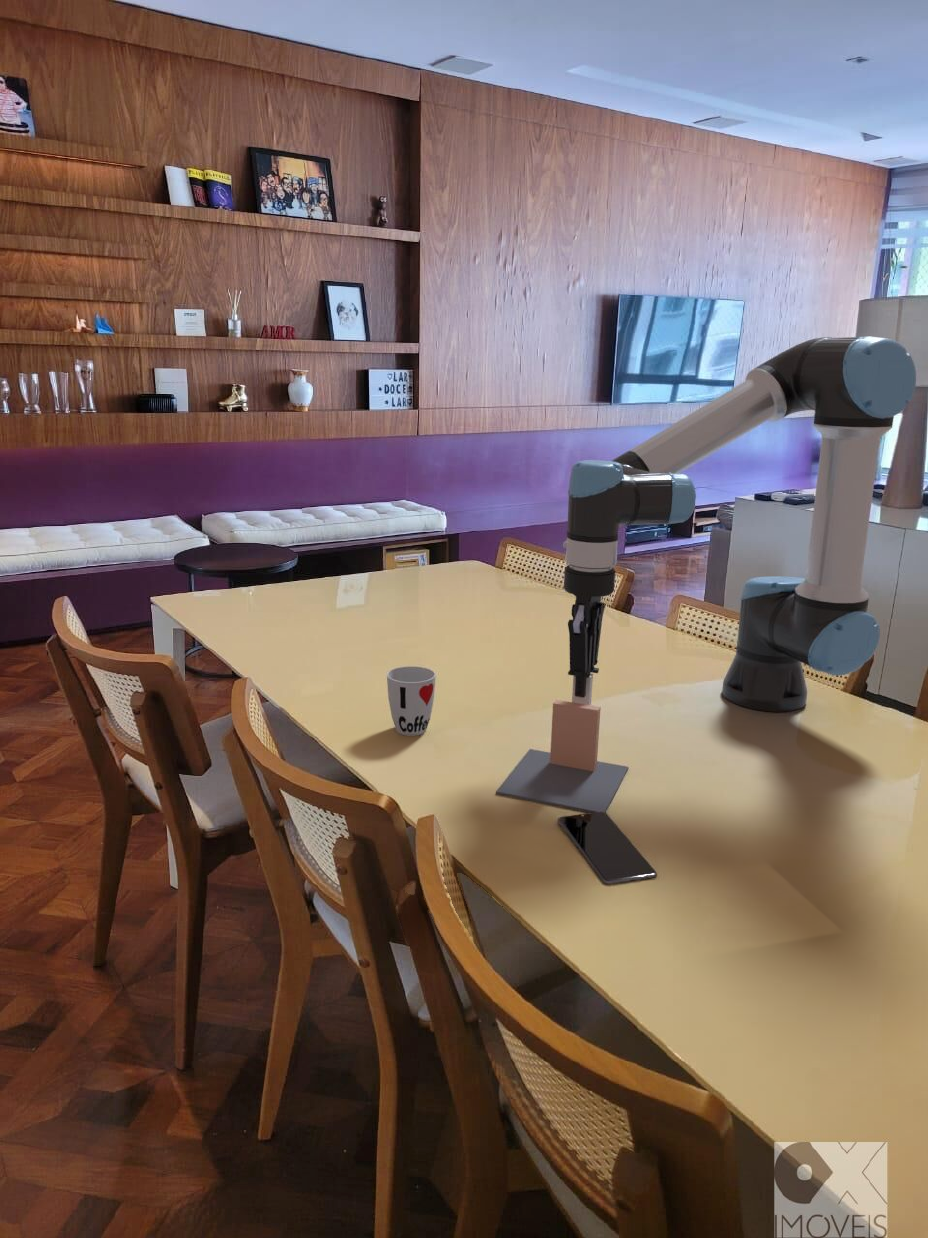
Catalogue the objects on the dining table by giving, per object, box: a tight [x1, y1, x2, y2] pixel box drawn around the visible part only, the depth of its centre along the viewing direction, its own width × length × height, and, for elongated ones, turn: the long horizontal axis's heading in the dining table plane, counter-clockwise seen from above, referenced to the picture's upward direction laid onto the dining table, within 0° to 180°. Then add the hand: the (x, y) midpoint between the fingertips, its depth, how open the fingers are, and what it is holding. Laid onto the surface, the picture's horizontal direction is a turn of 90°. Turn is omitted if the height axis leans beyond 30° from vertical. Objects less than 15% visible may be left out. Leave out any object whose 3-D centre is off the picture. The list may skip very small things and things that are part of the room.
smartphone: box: [557, 812, 658, 886], centre depth 118 cm, size 7×1×16 cm
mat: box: [495, 748, 630, 814], centre depth 136 cm, size 16×16×1 cm
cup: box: [386, 665, 437, 737], centre depth 152 cm, size 8×8×10 cm
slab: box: [550, 699, 601, 771], centre depth 139 cm, size 7×2×10 cm, turn 68°
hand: (580, 713), depth 142 cm, fingers closed
